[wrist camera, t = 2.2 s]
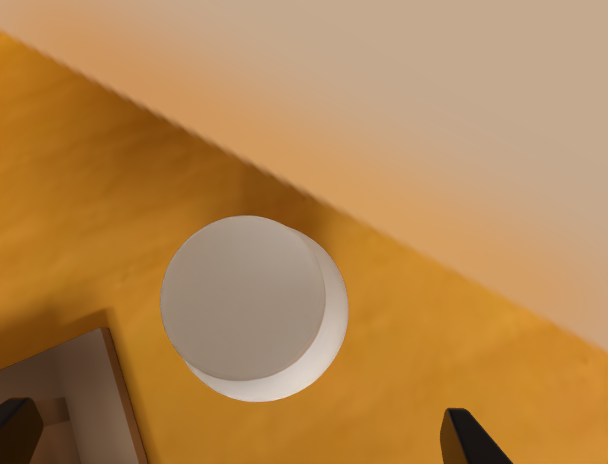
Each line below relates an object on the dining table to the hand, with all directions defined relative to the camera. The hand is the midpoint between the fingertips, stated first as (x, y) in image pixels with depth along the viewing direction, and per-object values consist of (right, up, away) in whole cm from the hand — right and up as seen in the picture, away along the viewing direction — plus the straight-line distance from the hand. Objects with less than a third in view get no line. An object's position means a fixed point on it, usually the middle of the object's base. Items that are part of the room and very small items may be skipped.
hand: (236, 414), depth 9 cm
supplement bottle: (0, 0, +10) cm, 10 cm away
